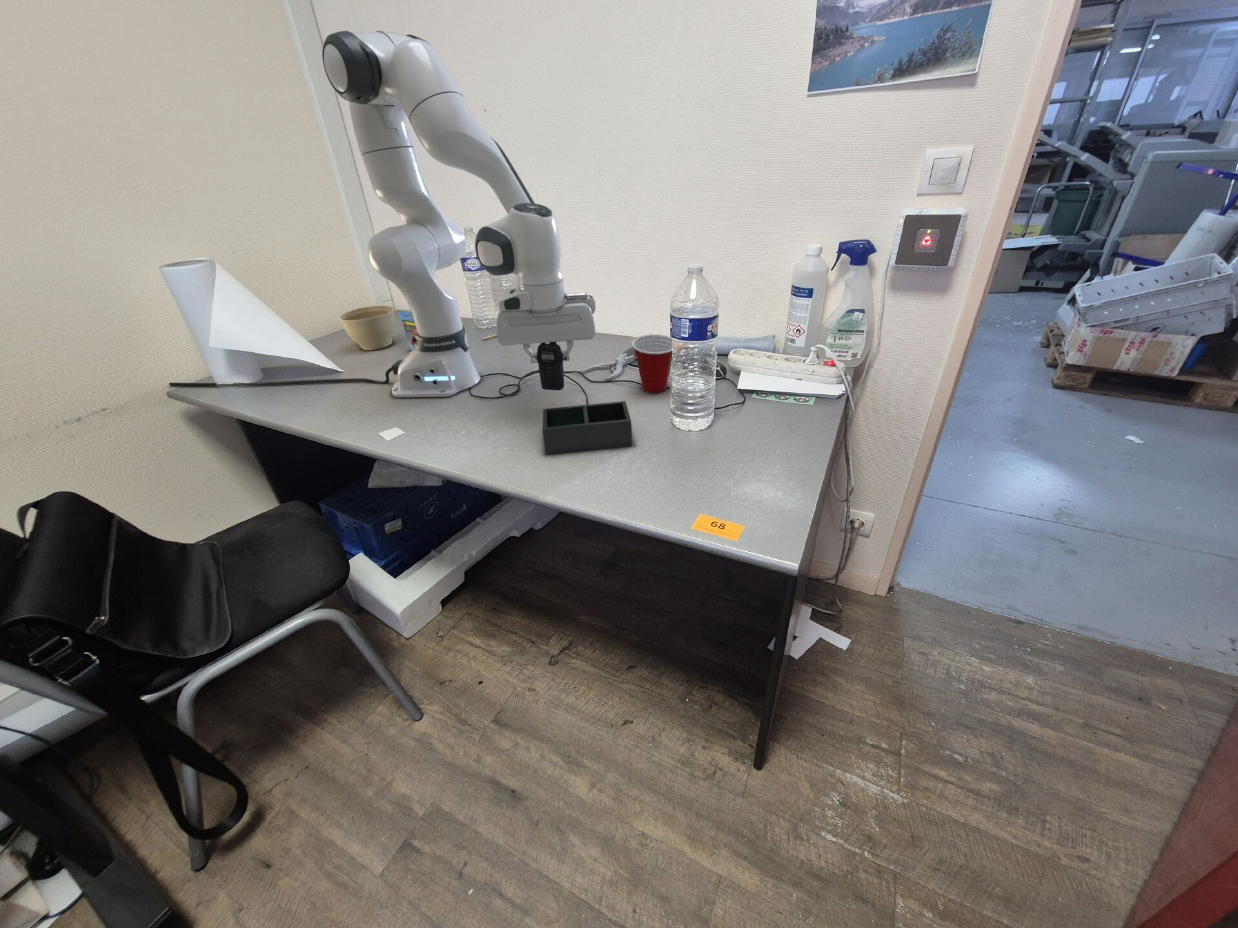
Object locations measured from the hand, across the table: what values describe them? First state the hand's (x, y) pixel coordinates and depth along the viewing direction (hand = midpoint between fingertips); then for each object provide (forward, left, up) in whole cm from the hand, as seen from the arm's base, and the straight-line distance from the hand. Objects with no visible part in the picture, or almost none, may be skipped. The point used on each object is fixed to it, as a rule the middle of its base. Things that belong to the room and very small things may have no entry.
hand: (550, 361), depth 108 cm
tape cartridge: (-42, +55, -13) cm, 70 cm away
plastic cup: (+24, +10, -13) cm, 29 cm away
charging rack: (+6, -12, -13) cm, 19 cm away
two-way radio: (0, 0, -6) cm, 6 cm away
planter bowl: (-59, +64, -13) cm, 88 cm away
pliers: (+15, +26, -13) cm, 33 cm away
